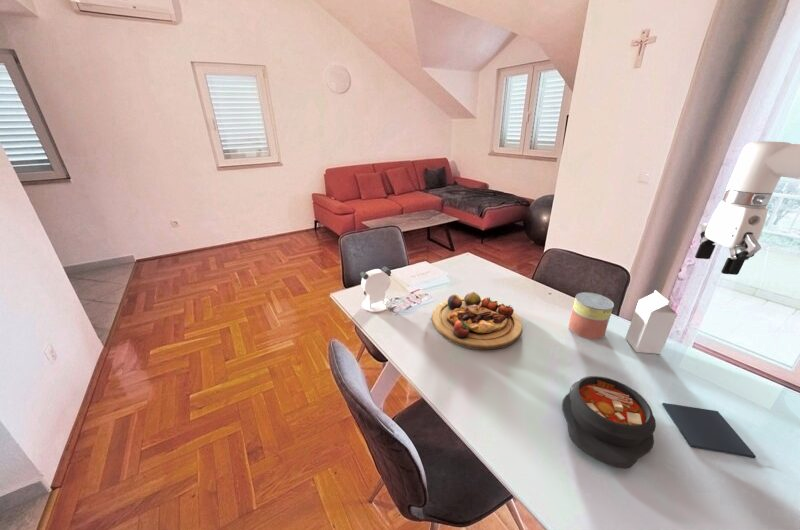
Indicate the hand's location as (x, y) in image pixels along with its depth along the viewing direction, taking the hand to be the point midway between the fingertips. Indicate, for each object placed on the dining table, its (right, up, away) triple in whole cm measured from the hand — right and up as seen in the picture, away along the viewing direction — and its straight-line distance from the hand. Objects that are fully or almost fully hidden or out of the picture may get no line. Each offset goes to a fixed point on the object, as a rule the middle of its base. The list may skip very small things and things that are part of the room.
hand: (714, 265), depth 79 cm
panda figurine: (-90, -16, +47) cm, 102 cm away
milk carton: (-1, -27, +22) cm, 35 cm away
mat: (-8, -39, -6) cm, 40 cm away
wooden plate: (-53, -21, +35) cm, 67 cm away
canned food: (-15, -23, +30) cm, 41 cm away
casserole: (-31, -38, -4) cm, 50 cm away
